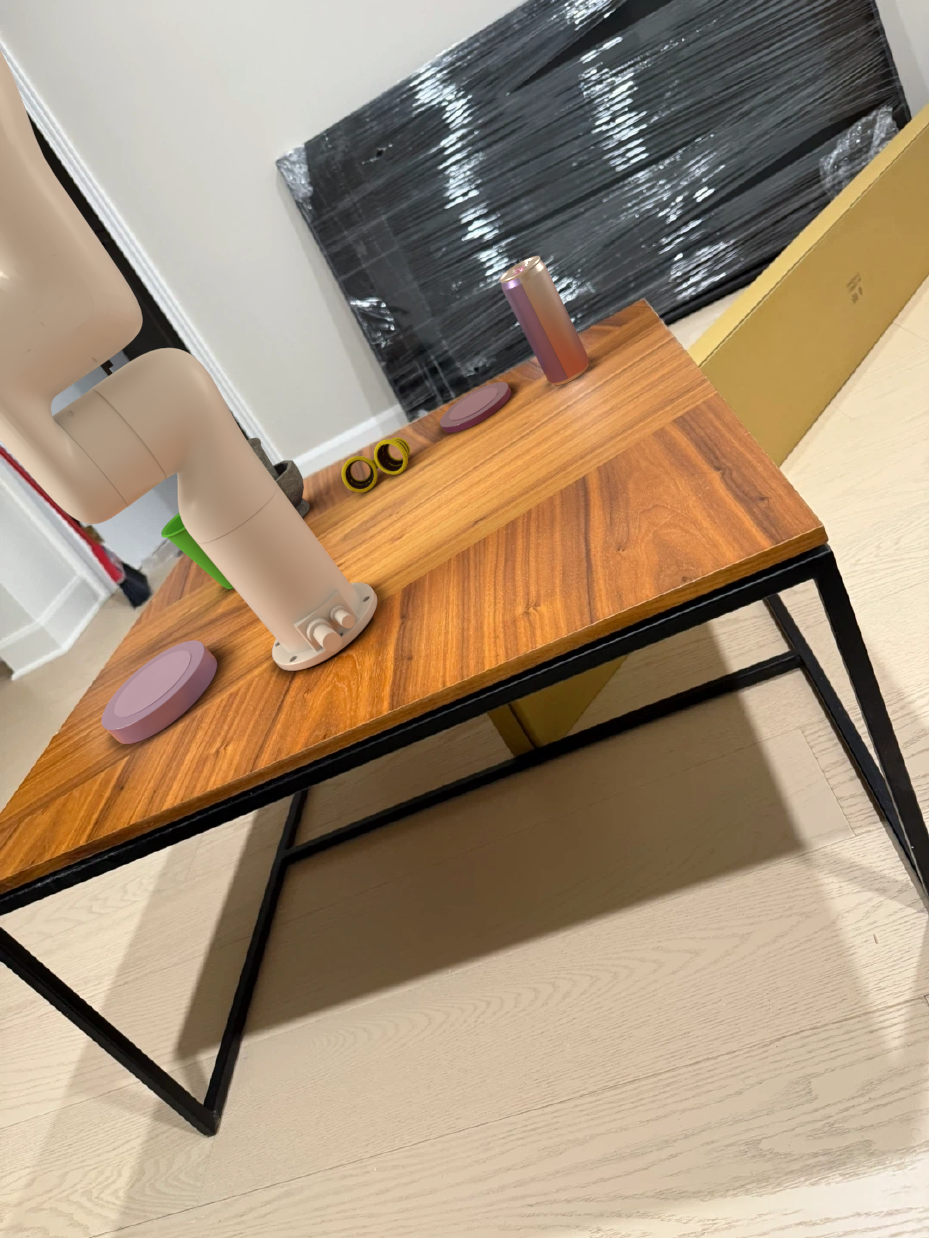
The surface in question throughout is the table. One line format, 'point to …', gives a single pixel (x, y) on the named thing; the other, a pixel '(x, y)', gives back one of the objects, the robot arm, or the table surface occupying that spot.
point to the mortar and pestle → (284, 477)
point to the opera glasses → (377, 464)
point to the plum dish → (475, 407)
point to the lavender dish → (159, 692)
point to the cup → (192, 549)
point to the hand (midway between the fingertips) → (80, 396)
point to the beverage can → (545, 321)
